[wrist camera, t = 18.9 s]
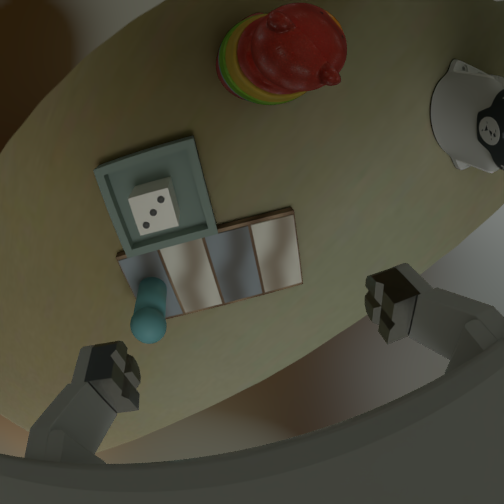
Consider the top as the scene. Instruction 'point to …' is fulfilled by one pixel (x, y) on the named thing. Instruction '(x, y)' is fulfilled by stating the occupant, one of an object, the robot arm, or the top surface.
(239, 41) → the stacking bear
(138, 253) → the tray
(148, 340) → the pawn
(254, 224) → the board
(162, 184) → the die
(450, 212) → the top surface
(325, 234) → the top surface
